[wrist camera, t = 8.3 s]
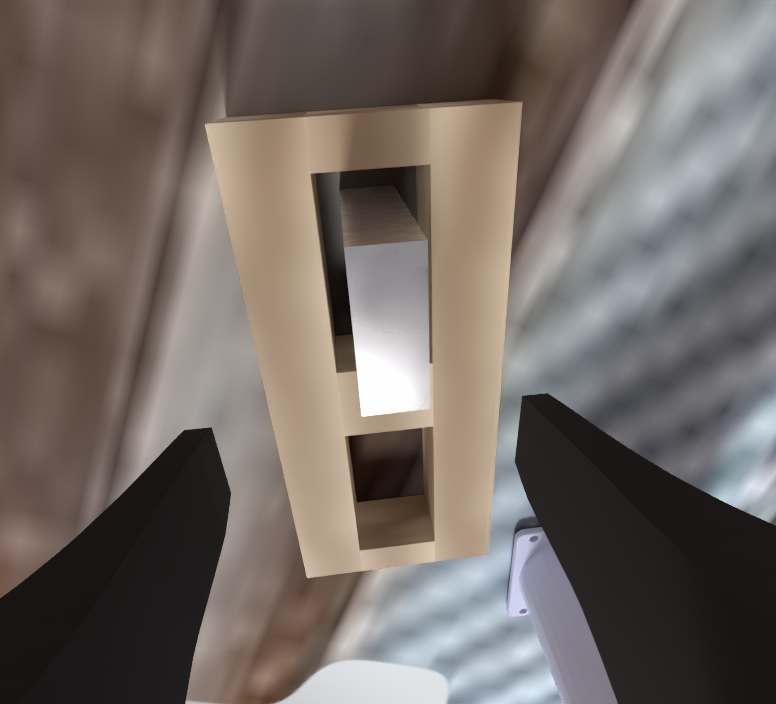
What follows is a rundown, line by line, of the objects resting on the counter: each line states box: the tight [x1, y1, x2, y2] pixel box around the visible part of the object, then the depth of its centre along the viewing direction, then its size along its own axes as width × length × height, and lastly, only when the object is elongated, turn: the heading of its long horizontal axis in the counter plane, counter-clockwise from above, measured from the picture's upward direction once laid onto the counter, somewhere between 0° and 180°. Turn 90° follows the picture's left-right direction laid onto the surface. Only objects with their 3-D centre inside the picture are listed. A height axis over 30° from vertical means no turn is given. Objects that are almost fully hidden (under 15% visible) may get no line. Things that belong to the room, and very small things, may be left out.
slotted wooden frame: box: [205, 99, 522, 578], centre depth 20 cm, size 9×20×3 cm, turn 3°
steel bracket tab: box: [339, 185, 430, 416], centre depth 15 cm, size 2×5×7 cm, turn 3°
